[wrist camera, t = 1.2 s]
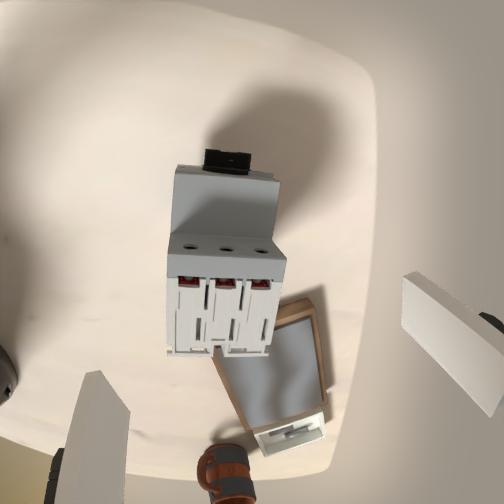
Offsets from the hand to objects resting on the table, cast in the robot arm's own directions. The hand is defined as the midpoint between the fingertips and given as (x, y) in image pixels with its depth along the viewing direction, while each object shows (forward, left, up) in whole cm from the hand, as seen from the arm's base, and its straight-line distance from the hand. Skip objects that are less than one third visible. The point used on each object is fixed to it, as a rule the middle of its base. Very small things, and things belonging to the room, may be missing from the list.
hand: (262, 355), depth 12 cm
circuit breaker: (0, 0, -24) cm, 24 cm away
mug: (-12, -42, -24) cm, 50 cm away
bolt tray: (+2, -40, -23) cm, 46 cm away
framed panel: (+2, -24, -23) cm, 33 cm away
